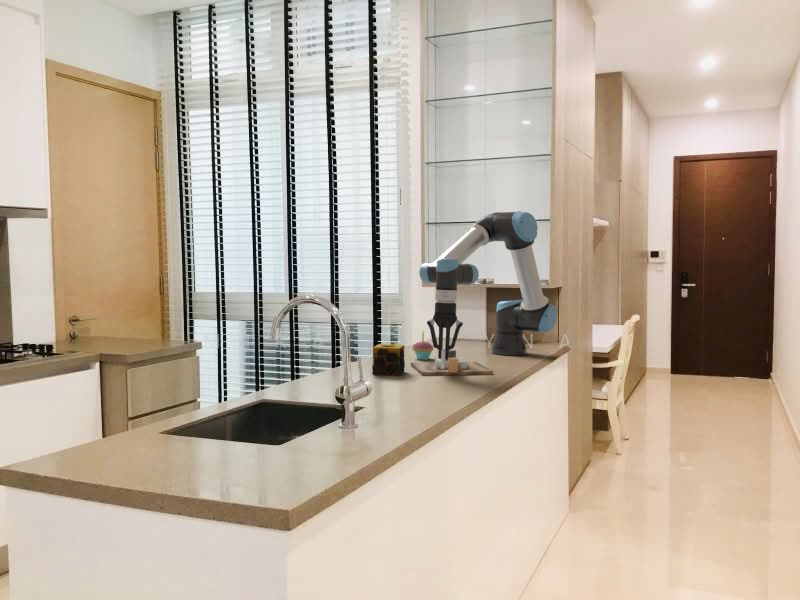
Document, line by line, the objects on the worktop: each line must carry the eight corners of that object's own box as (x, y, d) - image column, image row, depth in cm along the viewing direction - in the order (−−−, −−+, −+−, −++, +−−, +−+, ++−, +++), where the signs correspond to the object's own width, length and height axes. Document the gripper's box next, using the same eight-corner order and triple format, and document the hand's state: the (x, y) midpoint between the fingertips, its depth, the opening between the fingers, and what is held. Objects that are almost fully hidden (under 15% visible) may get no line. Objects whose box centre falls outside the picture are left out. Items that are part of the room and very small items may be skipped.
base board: (476, 364, 283) (476, 346, 282) (492, 374, 261) (493, 354, 260) (410, 365, 278) (410, 346, 278) (422, 375, 257) (422, 355, 256)
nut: (435, 363, 275) (435, 351, 275) (464, 364, 275) (464, 351, 275) (437, 372, 256) (437, 358, 255) (468, 372, 255) (468, 359, 255)
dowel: (460, 370, 262) (461, 361, 262) (462, 371, 260) (462, 362, 260) (455, 370, 262) (455, 362, 261) (456, 371, 260) (457, 362, 259)
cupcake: (433, 360, 291) (433, 331, 290) (412, 360, 291) (412, 330, 290) (432, 357, 299) (433, 328, 299) (412, 357, 300) (412, 328, 299)
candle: (399, 376, 255) (400, 348, 254) (371, 375, 257) (372, 347, 256) (405, 371, 265) (405, 344, 264) (378, 370, 267) (378, 343, 266)
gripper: (426, 301, 253) (423, 368, 255) (462, 303, 251) (460, 371, 252) (429, 300, 260) (426, 365, 262) (464, 302, 258) (462, 367, 260)
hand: (443, 368), depth 257 cm, fingers closed
